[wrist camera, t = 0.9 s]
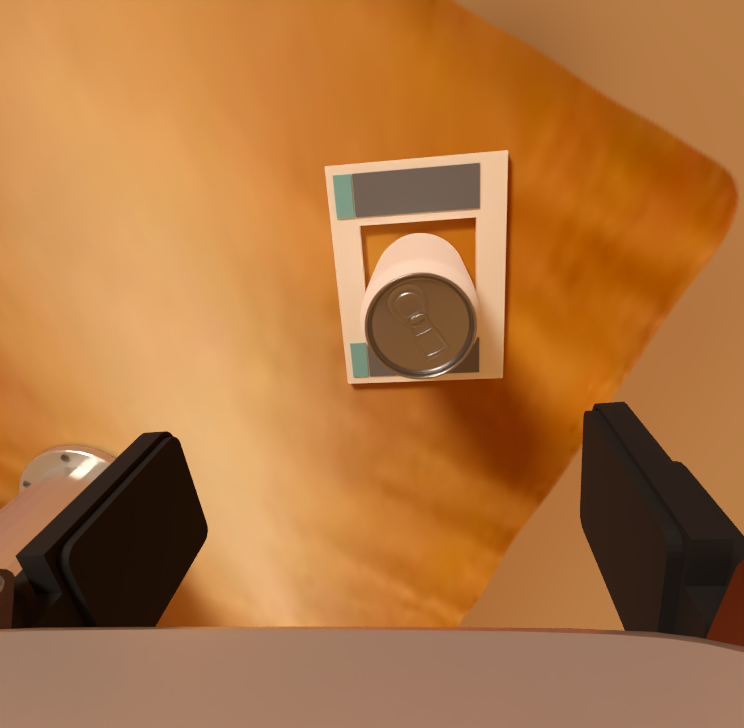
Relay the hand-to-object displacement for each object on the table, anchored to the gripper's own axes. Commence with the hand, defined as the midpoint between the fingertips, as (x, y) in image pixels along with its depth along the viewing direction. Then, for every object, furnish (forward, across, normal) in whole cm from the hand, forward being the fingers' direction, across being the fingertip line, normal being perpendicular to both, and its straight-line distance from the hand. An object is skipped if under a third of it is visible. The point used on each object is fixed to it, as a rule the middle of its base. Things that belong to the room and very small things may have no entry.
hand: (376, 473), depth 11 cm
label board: (+26, 0, +1) cm, 26 cm away
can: (+26, 0, +1) cm, 26 cm away
